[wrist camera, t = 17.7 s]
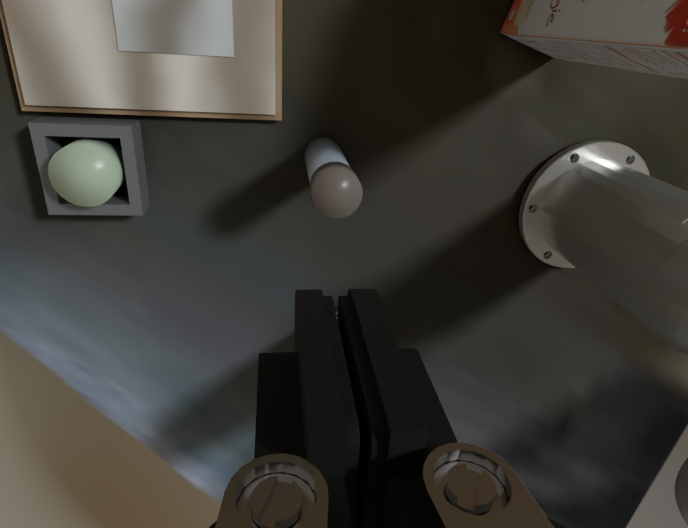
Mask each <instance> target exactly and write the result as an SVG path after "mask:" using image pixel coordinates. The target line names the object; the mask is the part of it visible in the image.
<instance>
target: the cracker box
mask: <svg viewBox="0 0 688 528" xmlns="http://www.w3.org/2000/svg"><path fill="white" fill-rule="evenodd" d="M500 33H501V34H503V35H506V36H508V37H510V38H512V39H514V40H516V41H518V42H520V43H523V44H525V45H527V46H529V47H531V48H533V49H535V50H538V51H540V52H542V53H544V54H546V55H548V56H551V57H553V58H555V59H559V60H565V61H571V62H577V63H583V64H589V65H595V66H602V67H609V68H615V69H621V70H628V71H635V72H641V73H648V74H655V75H661V76H668V77H675V78H681V79H688V0H514V2H513V4H512V7H511V9H510V11H509V13H508V15H507V17H506V19H505V22H504V24H503V26H502V28H501V31H500Z"/></svg>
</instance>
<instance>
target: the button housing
mask: <svg viewBox="0 0 688 528" xmlns="http://www.w3.org/2000/svg"><path fill="white" fill-rule="evenodd" d="M28 126H29V130H30V134H31V139H32V143H33V148H34V152H35V156H36V161H37V165H38V170H39V174H40V178H41V183H42V187H43V192H44V196H45V200H46V205H47V209H48V214H49V215H133V216H143V215H144V214H145V212H146V211H147V209H148V207H149V206H150V200H149V192H148V184H147V176H146V168H145V160H144V152H143V144H142V136H141V128H140V120H128V119H100V118H73V117H45V116H42V117H40V118H38V119H35V120H33V121H31V122H28ZM59 136H64V137H97V138H120V141H121V148H122V154H123V161H124V168H125V175H126V182H127V189H128V194H113V195H112V197H111V198H110V199H109V200H108V201H106V202H105V203H103V204H101V205H98V206H93V207H83V206H78V205H75V204H73V203H70V202H68V201H67V200H65V199H64V198H62V197H61V196H60V195H59V194H58V193H57V192H56V191H55V189H54V188H53V186H52V185H51V182H50V180H49V176H48V165H49V162H50V159H51V158H52V156H53V155H54V154H55V153H56V152H57V151H59V150H60V149H62V148H61V143H60V138H59Z"/></svg>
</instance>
